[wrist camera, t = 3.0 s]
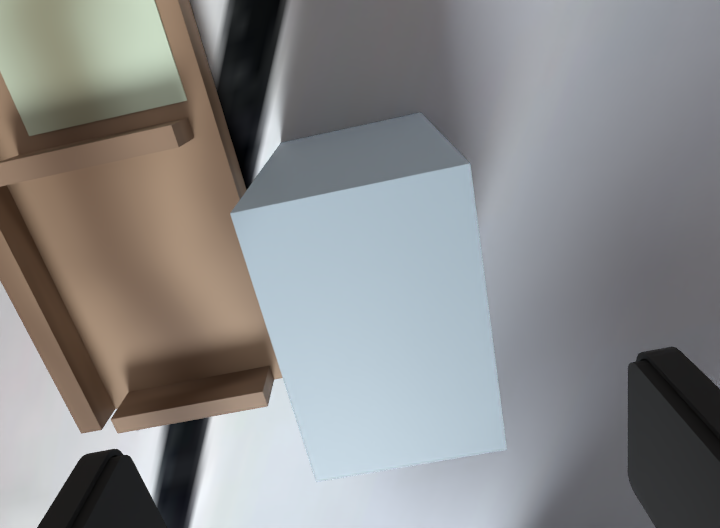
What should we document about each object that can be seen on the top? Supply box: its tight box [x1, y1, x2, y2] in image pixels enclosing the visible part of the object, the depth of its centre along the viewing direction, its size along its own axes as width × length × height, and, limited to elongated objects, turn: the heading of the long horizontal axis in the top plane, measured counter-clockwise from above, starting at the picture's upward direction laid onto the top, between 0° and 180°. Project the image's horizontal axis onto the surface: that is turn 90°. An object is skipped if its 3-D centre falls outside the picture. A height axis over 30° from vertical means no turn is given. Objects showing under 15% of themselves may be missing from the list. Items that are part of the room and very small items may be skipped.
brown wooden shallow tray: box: [0, 0, 283, 433], centre depth 20 cm, size 10×24×4 cm, turn 12°
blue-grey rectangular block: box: [230, 112, 507, 482], centre depth 19 cm, size 6×9×10 cm
